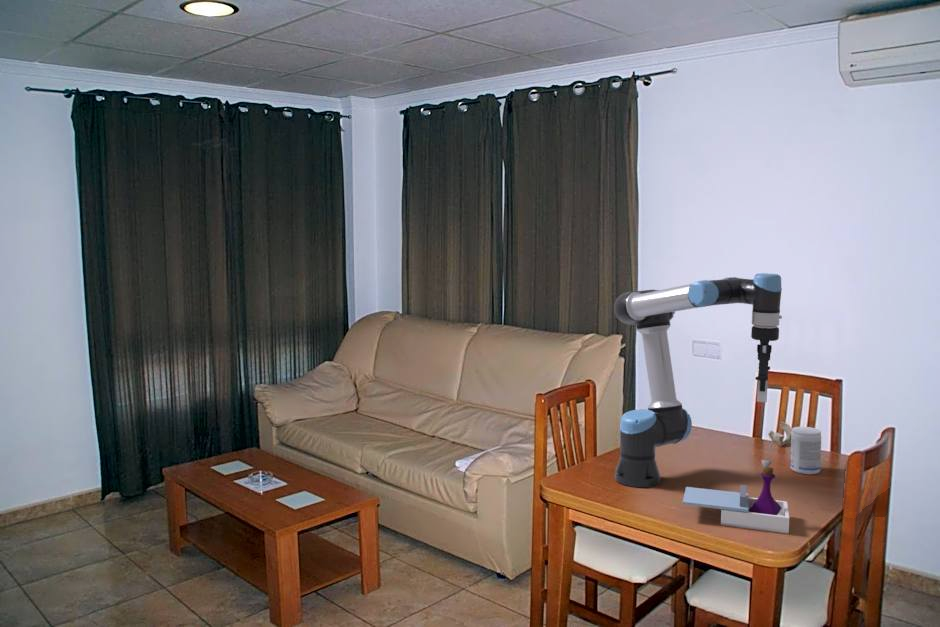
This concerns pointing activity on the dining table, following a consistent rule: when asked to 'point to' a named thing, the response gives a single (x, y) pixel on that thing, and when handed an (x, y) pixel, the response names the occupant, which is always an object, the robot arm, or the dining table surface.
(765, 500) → the perfume bottle
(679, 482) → the dining table surface
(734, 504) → the lid
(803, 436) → the supplement tub
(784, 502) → the storage box
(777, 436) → the beige irregular lump
